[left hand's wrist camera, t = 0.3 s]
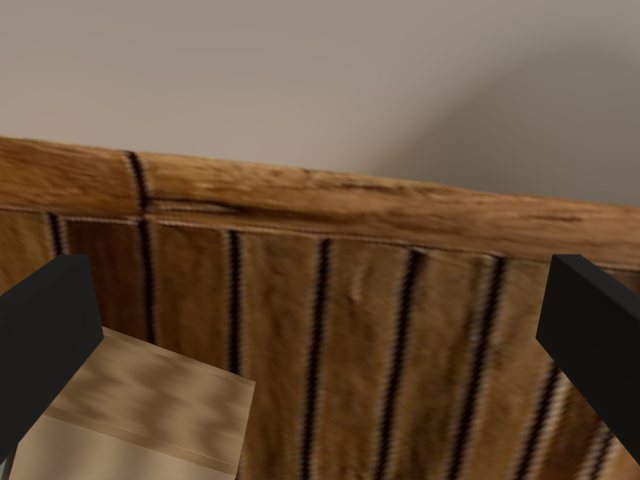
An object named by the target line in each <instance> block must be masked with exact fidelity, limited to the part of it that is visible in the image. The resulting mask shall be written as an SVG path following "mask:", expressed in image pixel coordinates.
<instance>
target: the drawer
mask: <svg viewBox="0 0 640 480" xmlns="http://www.w3.org/2000/svg"><path fill="white" fill-rule="evenodd" d="M17 447H18V445H17V446H16V447H15V448H14V450H13V451H12V452H11V453H10V454H9V456H8V457H7V458H6V459H5V461H4V462H3V463H2V464H1V465H0V480H6V478H7V477H8V476H9V474H10V473H11V470H12V466H13V462H14V458H15V455H16V451H17Z"/></svg>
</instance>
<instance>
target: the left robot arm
mask: <svg viewBox="0 0 640 480" xmlns="http://www.w3.org/2000/svg"><path fill="white" fill-rule="evenodd" d="M103 339H104V333H103V328H102V324H101V319H100V314H99V309H98V304H97V299H96V294H95V289H94V285H93V280H92V275H91V270H90V265H89V260H88V255H87V254H60V255H59V256H57V257H56V258H54V259H53V260H51V261H50V262H49V263H47V264H46V265H44V266H43V267H41V268H40V269H39V270H37V271H36V272H34V273H33V274H31V275H30V276H28V277H27V278H26V279H24V280H23V281H21V282H20V283H18V284H17V285H16V286H14V287H13V288H11V289H10V290H8V291H7V292H5V293H4V294H3V295H1V296H0V465H1V464H2V463H3V462H4V461H5V459H6V458H7V457H8V456H9V454H10V453H11V452H12V451H13V450H14V448H15V447H16V446H17V445H18V443H19V442H20V441H21V440H22V438H23V437H24V436H25V435H26V434H27V432H28V431H29V430H30V429H31V427H32V426H33V425H34V424H35V423H36V421H37V420H38V419H39V418H40V416H41V415H42V414H43V413H44V412H45V410H46V409H47V408H48V407H49V405H50V404H51V403H52V402H53V400H54V399H55V398H56V397H57V396H58V394H59V393H60V392H61V391H62V389H63V388H64V387H65V386H66V385H67V383H68V382H69V381H70V380H71V378H72V377H73V376H74V375H75V374H76V372H77V371H78V370H79V369H80V367H81V366H82V365H83V364H84V363H85V361H86V360H87V359H88V358H89V356H90V355H91V354H92V353H93V351H94V350H95V349H96V348H97V347H98V345H99V344H100V343H101V342H102V340H103ZM536 339H537V340H538V342H539V343H540V344H541V345H542V347H543V348H544V349H545V350H546V351H547V353H548V354H549V355H550V356H551V358H552V359H553V360H554V361H555V363H556V364H557V365H558V366H559V367H560V369H561V370H562V371H563V372H564V374H565V375H566V376H567V377H568V378H569V380H570V381H571V382H572V383H573V385H574V386H575V387H576V388H577V389H578V391H579V392H580V393H581V394H582V396H583V397H584V398H585V399H586V400H587V402H588V403H589V404H590V405H591V407H592V408H593V409H594V410H595V412H596V413H597V414H598V415H599V416H600V418H601V419H602V420H603V421H604V423H605V424H606V425H607V426H608V427H609V429H610V430H611V431H612V432H613V434H614V435H615V436H616V437H617V438H618V440H619V441H620V442H621V443H622V445H623V446H624V447H625V448H626V450H627V451H628V452H629V453H630V454H631V456H632V457H633V458H634V459H635V461H636V462H637V463H638V464H639V465H640V296H639V295H637V294H636V293H635V292H633V291H632V290H630V289H629V288H627V287H626V286H624V285H623V284H622V283H620V282H619V281H617V280H616V279H614V278H613V277H612V276H610V275H609V274H607V273H606V272H604V271H603V270H601V269H600V268H599V267H597V266H596V265H594V264H593V263H591V262H590V261H589V260H587V259H586V258H584V257H583V256H581V255H580V254H553V255H552V260H551V265H550V270H549V275H548V280H547V285H546V289H545V294H544V299H543V304H542V309H541V314H540V319H539V324H538V328H537V333H536Z"/></svg>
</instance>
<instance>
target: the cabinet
mask: <svg viewBox="0 0 640 480" xmlns="http://www.w3.org/2000/svg"><path fill="white" fill-rule="evenodd" d="M102 328H103V333H104V339H103V340H102V342H101V343H100V344H99V345H98V347H97V348H96V349H95V350H94V351H93V353H92V354H91V355H90V356H89V358H88V359H87V360H86V361H85V363H84V364H83V365H82V366H81V367H80V369H79V370H78V371H77V372H76V374H75V375H74V376H73V377H72V378H71V380H70V381H69V382H68V383H67V385H66V386H65V387H64V388H63V389H62V391H61V392H60V393H59V394H58V396H57V397H56V398H55V399H54V400H53V402H52V403H51V404H50V405H49V407H48V408H47V409H46V410H45V412H44V413H43V414H42V415H41V416H40V418H39V419H38V420H37V421H36V423H35V424H34V425H33V426H32V427H31V429H30V430H29V431H28V432H27V434H26V435H25V436H24V437H23V438H22V440H21V441H20V442H19V443H18V447H17V451H16V455H15V458H14V462H13V466H12V470H11V474H10V477H9V480H235V478H236V474H237V469H238V464H239V459H240V454H241V450H242V445H243V440H244V435H245V431H246V426H247V421H248V416H249V412H250V407H251V402H252V397H253V393H254V388H255V383H256V382H255V381H253V380H250V379H247V378H244V377H241V376H239V375H236V374H233V373H230V372H228V371H225V370H222V369H219V368H217V367H214V366H211V365H208V364H205V363H203V362H200V361H197V360H194V359H192V358H189V357H186V356H183V355H180V354H178V353H175V352H172V351H169V350H167V349H164V348H161V347H158V346H156V345H153V344H150V343H147V342H144V341H142V340H139V339H136V338H133V337H131V336H128V335H125V334H122V333H119V332H117V331H114V330H111V329H108V328H106V327H103V326H102Z"/></svg>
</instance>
